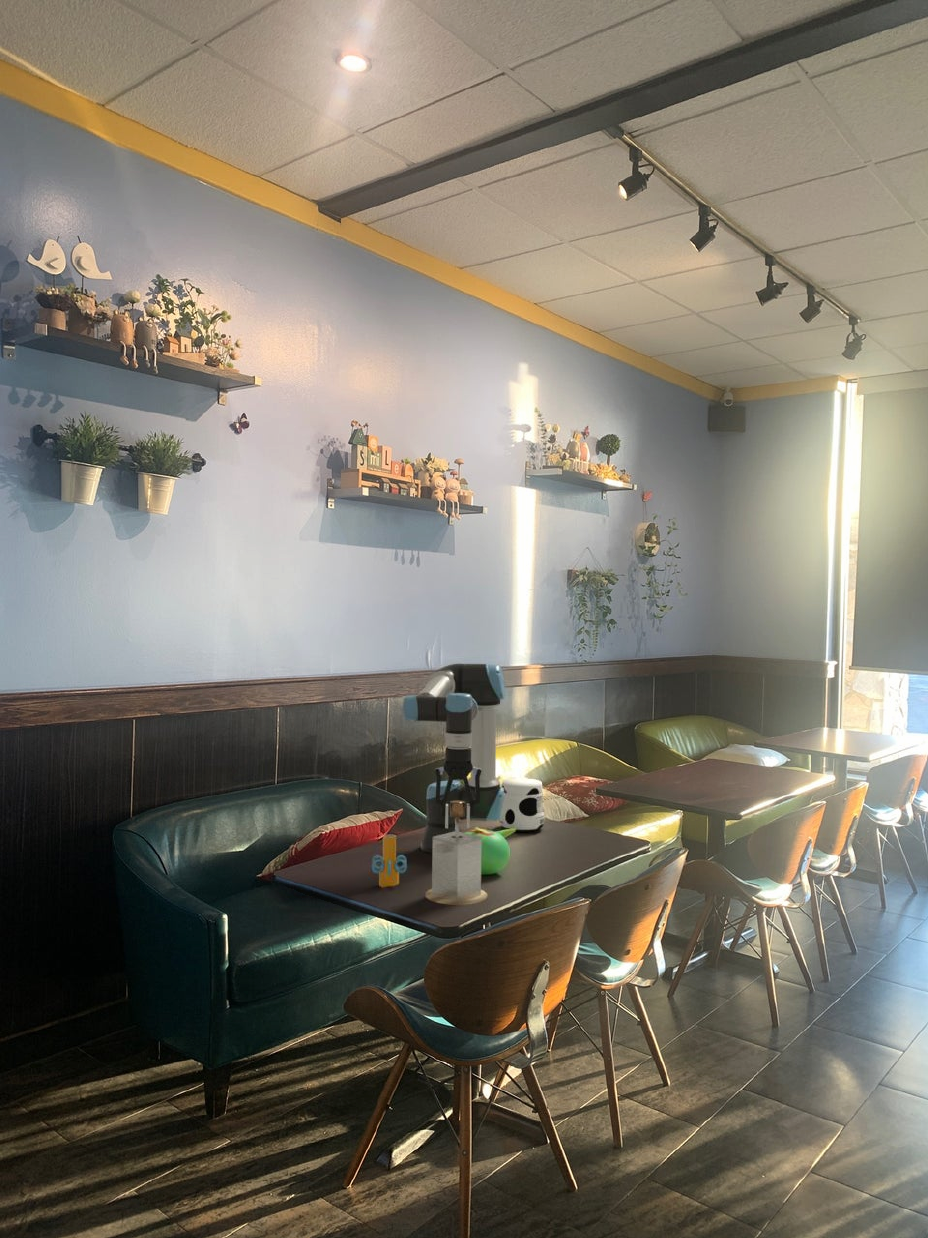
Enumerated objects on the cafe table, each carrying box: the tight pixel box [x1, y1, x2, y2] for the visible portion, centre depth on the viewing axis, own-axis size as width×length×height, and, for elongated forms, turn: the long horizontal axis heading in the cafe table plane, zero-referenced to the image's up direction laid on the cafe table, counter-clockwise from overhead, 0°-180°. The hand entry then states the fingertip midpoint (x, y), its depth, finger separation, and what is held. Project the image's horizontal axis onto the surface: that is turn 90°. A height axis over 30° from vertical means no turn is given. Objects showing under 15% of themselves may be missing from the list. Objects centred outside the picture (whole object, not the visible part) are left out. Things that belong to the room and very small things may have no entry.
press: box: [431, 831, 482, 902], centre depth 272 cm, size 10×16×17 cm, turn 137°
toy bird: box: [464, 826, 516, 876], centre depth 297 cm, size 18×17×15 cm
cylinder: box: [371, 833, 408, 889], centre depth 282 cm, size 12×10×15 cm
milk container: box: [498, 777, 546, 833], centre depth 356 cm, size 17×17×18 cm
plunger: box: [450, 801, 465, 839], centre depth 272 cm, size 7×7×20 cm
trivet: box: [424, 888, 488, 906], centre depth 272 cm, size 18×18×1 cm
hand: (457, 827), depth 272 cm, fingers open, 5 cm apart
